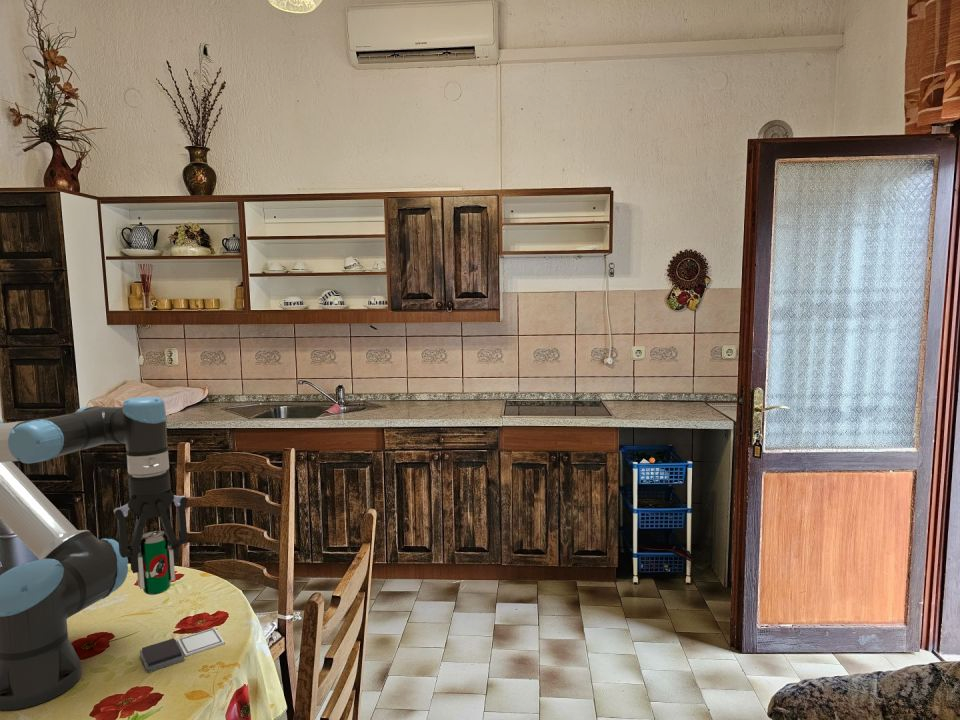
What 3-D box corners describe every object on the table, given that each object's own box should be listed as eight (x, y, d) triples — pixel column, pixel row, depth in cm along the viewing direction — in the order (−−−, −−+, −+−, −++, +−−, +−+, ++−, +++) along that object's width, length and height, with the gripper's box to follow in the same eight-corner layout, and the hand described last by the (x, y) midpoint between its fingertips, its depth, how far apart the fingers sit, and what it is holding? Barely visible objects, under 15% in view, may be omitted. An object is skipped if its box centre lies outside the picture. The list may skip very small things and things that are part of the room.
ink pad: (147, 673, 127) (146, 664, 127) (140, 655, 133) (139, 647, 133) (184, 660, 131) (183, 652, 131) (176, 644, 137) (175, 636, 137)
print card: (185, 656, 132) (185, 654, 132) (177, 641, 139) (176, 638, 139) (224, 643, 137) (224, 641, 137) (215, 629, 144) (214, 627, 144)
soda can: (175, 585, 133) (172, 530, 132) (161, 596, 128) (157, 539, 127) (153, 584, 134) (149, 529, 132) (138, 595, 129) (134, 538, 127)
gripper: (100, 485, 120) (109, 602, 122) (200, 468, 131) (207, 576, 133) (95, 477, 126) (104, 588, 128) (191, 461, 137) (198, 565, 139)
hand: (156, 582), depth 131 cm, fingers closed on soda can, 5 cm apart
